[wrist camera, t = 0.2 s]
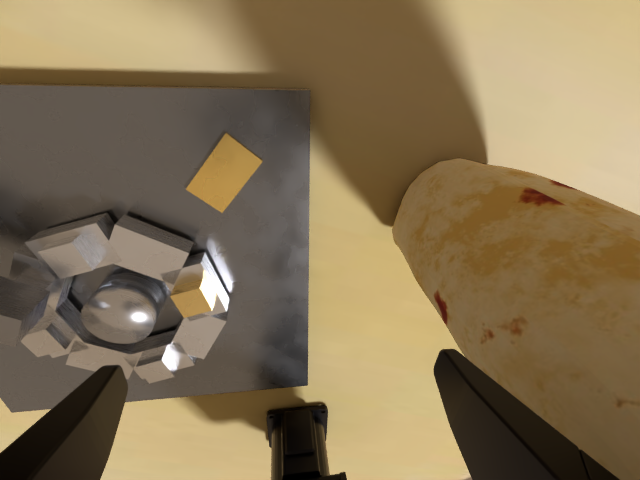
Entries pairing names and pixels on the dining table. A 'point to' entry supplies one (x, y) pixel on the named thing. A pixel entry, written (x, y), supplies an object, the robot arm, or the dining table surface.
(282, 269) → the cap plate
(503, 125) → the dining table surface
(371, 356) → the dining table surface
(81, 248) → the grey ring frame
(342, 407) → the dining table surface
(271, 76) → the dining table surface
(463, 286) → the food model
